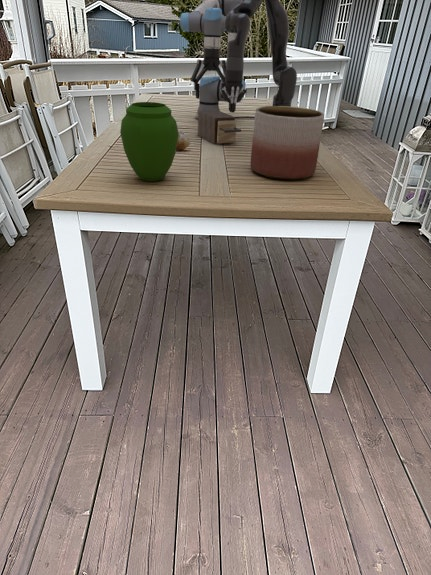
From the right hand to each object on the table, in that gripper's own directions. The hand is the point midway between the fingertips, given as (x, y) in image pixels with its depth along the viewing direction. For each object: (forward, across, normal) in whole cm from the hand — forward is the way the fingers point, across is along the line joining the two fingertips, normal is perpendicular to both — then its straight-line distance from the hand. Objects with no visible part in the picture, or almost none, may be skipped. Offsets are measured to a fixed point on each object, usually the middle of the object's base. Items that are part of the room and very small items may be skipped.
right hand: (231, 112), depth 184 cm
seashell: (+15, +25, 0) cm, 30 cm away
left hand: (-3, 0, -24) cm, 24 cm away
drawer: (+14, 0, -10) cm, 17 cm away
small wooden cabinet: (+15, 0, -16) cm, 22 cm away
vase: (+15, +50, +36) cm, 63 cm away
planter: (+15, -2, +42) cm, 45 cm away
